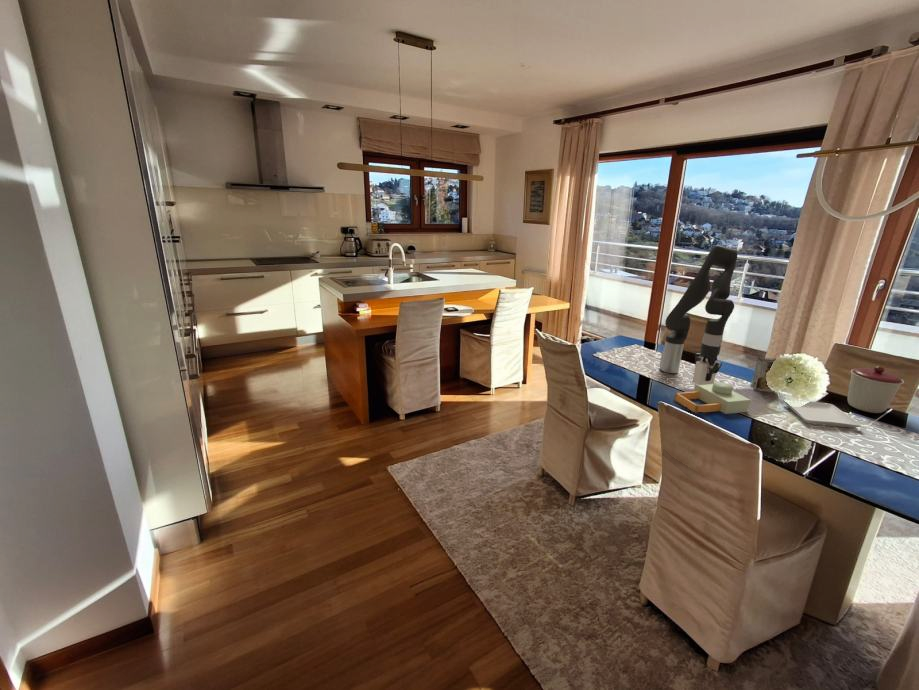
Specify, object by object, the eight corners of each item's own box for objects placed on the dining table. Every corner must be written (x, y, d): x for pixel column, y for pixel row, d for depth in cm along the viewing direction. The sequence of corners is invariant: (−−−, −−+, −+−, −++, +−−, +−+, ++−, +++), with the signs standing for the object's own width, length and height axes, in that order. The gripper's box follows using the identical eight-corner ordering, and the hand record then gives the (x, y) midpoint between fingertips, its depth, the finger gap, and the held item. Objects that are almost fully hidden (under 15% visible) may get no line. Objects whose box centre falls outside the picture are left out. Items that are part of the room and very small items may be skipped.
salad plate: (860, 432, 180) (863, 425, 178) (804, 426, 183) (806, 419, 182) (829, 409, 199) (831, 403, 198) (779, 404, 203) (781, 398, 202)
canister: (886, 406, 203) (902, 365, 197) (895, 421, 189) (913, 377, 182) (837, 396, 213) (851, 356, 206) (842, 409, 199) (857, 367, 192)
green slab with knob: (669, 397, 207) (673, 379, 204) (713, 393, 213) (717, 376, 210) (700, 416, 189) (704, 397, 186) (747, 411, 194) (752, 393, 191)
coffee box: (770, 387, 221) (778, 358, 216) (775, 392, 215) (783, 362, 210) (750, 385, 223) (757, 356, 218) (754, 390, 217) (762, 360, 212)
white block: (692, 381, 197) (696, 361, 194) (706, 380, 199) (711, 360, 195) (698, 385, 193) (703, 364, 190) (713, 383, 195) (718, 363, 192)
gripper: (692, 338, 196) (685, 373, 201) (717, 348, 182) (708, 385, 188) (706, 338, 197) (699, 372, 203) (731, 347, 184) (723, 384, 189)
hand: (703, 378), depth 195 cm, fingers closed on white block, 4 cm apart
